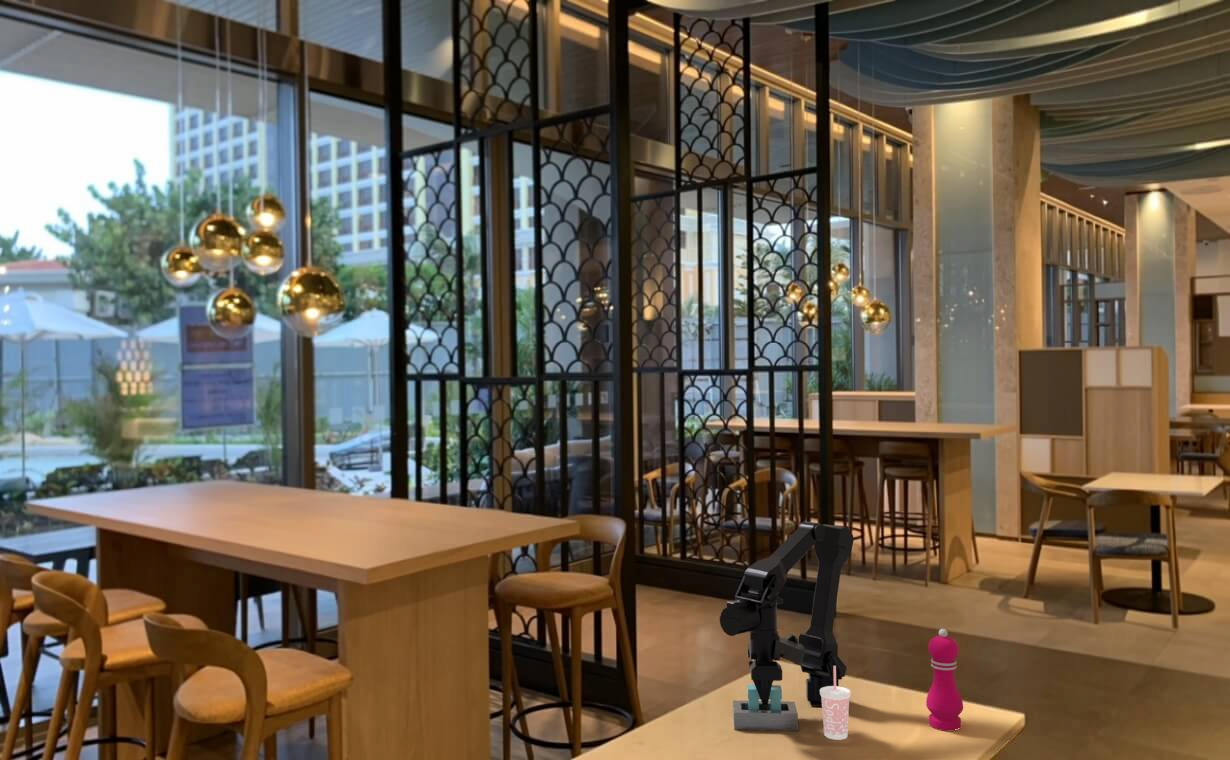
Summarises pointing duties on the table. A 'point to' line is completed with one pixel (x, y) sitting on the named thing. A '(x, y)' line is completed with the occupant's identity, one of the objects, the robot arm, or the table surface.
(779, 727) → the grey slotted tray
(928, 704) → the pepper mill
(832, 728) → the beverage cup
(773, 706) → the light blue rectangular block
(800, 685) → the table surface
